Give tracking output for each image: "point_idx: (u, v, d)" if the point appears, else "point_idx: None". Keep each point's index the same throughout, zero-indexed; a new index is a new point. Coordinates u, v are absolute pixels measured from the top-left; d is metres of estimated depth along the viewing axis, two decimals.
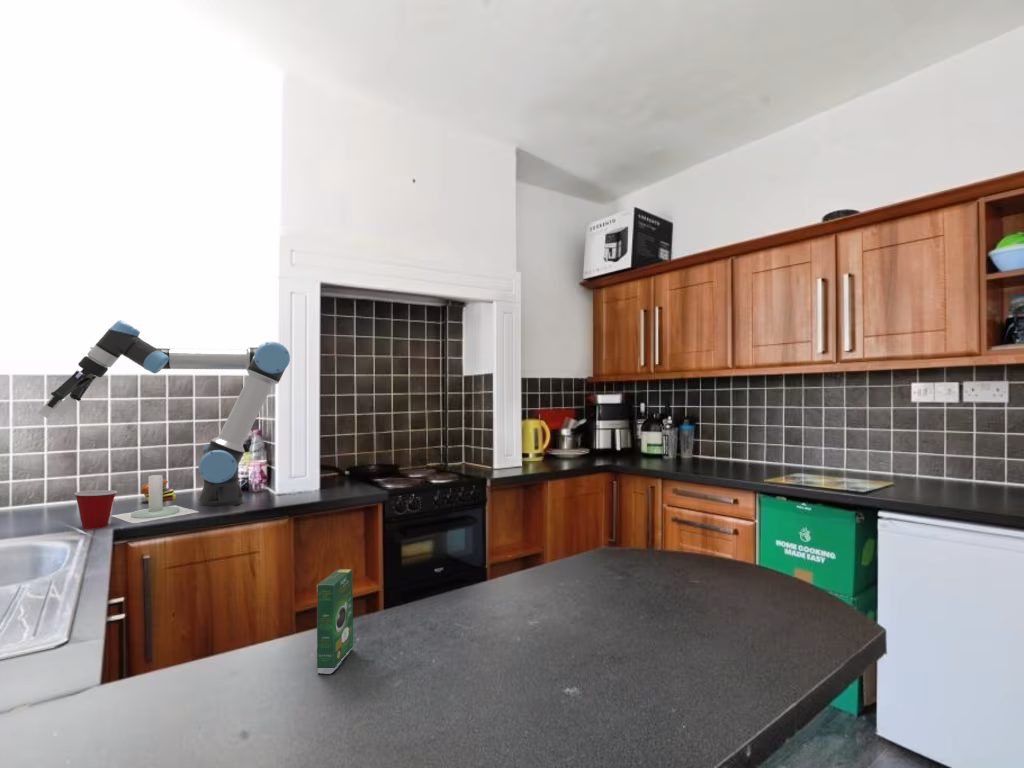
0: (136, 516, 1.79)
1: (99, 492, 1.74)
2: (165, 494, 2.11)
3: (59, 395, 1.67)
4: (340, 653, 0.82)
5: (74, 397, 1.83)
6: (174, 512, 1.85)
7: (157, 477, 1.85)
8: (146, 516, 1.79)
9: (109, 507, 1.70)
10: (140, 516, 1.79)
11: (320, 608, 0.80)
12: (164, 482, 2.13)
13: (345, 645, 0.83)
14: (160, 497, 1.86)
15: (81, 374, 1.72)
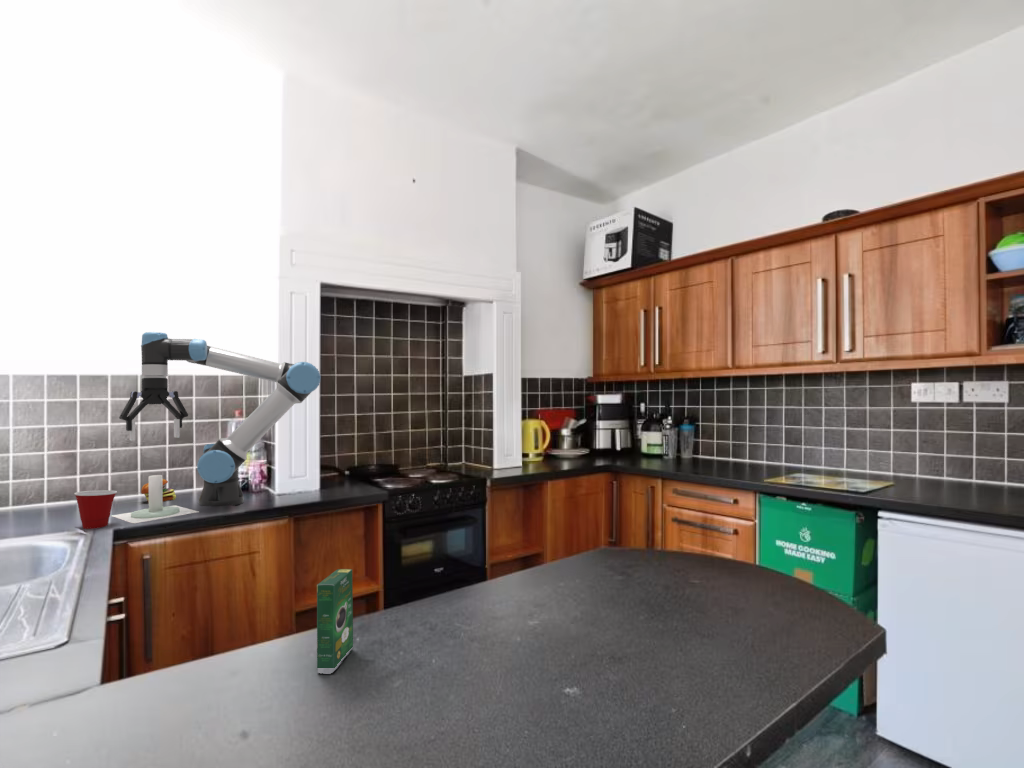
0: (136, 516, 1.79)
1: (99, 492, 1.74)
2: (165, 494, 2.11)
3: (121, 417, 1.78)
4: (340, 653, 0.82)
5: (178, 417, 1.92)
6: (174, 512, 1.85)
7: (157, 477, 1.85)
8: (146, 516, 1.79)
9: (109, 507, 1.70)
10: (140, 516, 1.79)
11: (320, 608, 0.80)
12: (164, 482, 2.13)
13: (345, 645, 0.83)
14: (160, 497, 1.86)
15: (132, 392, 1.81)
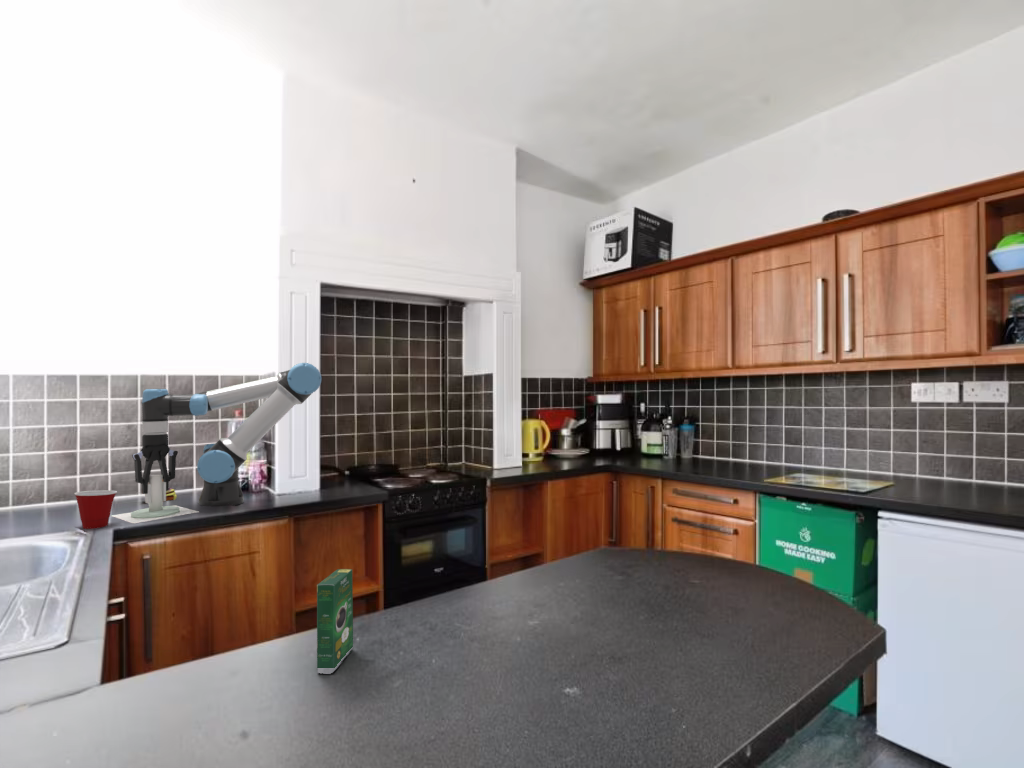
0: (136, 516, 1.79)
1: (99, 492, 1.74)
2: (166, 494, 2.12)
3: (137, 481, 1.81)
4: (340, 653, 0.82)
5: (164, 479, 1.88)
6: (174, 512, 1.85)
7: (157, 477, 1.85)
8: (146, 516, 1.79)
9: (109, 507, 1.70)
10: (140, 516, 1.79)
11: (320, 608, 0.80)
12: None
13: (345, 645, 0.83)
14: (160, 497, 1.86)
15: (134, 456, 1.81)
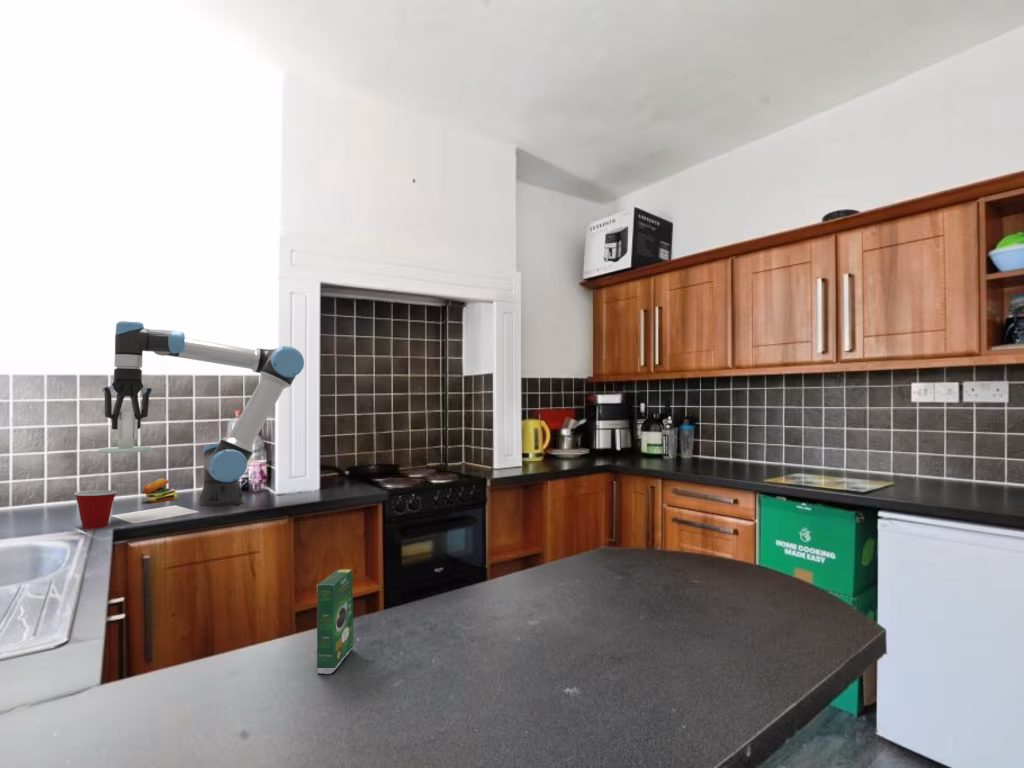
0: (103, 450, 1.72)
1: (99, 492, 1.74)
2: (166, 494, 2.12)
3: (106, 415, 1.74)
4: (340, 653, 0.82)
5: (136, 416, 1.80)
6: (144, 450, 1.77)
7: (128, 412, 1.77)
8: (114, 451, 1.71)
9: (109, 507, 1.70)
10: (107, 450, 1.71)
11: (320, 608, 0.80)
12: (165, 482, 2.13)
13: (345, 645, 0.83)
14: (131, 434, 1.78)
15: (104, 389, 1.73)
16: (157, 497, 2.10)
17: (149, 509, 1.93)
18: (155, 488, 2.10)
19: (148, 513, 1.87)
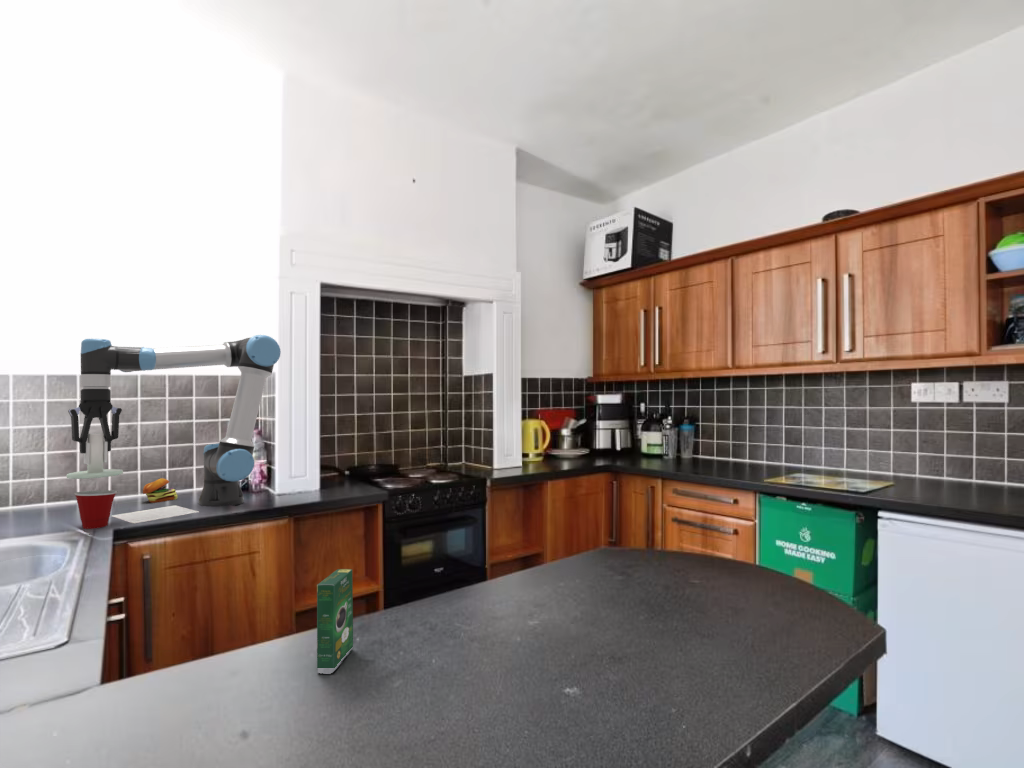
0: (71, 476, 1.63)
1: (99, 492, 1.74)
2: (167, 494, 2.12)
3: (74, 439, 1.65)
4: (340, 653, 0.82)
5: (106, 439, 1.72)
6: (115, 473, 1.69)
7: (97, 435, 1.68)
8: (82, 476, 1.63)
9: (109, 507, 1.70)
10: (76, 476, 1.62)
11: (321, 608, 0.80)
12: (166, 482, 2.13)
13: (345, 645, 0.83)
14: (100, 457, 1.69)
15: (70, 411, 1.64)
16: (157, 497, 2.10)
17: (149, 509, 1.93)
18: (155, 488, 2.10)
19: (148, 513, 1.87)
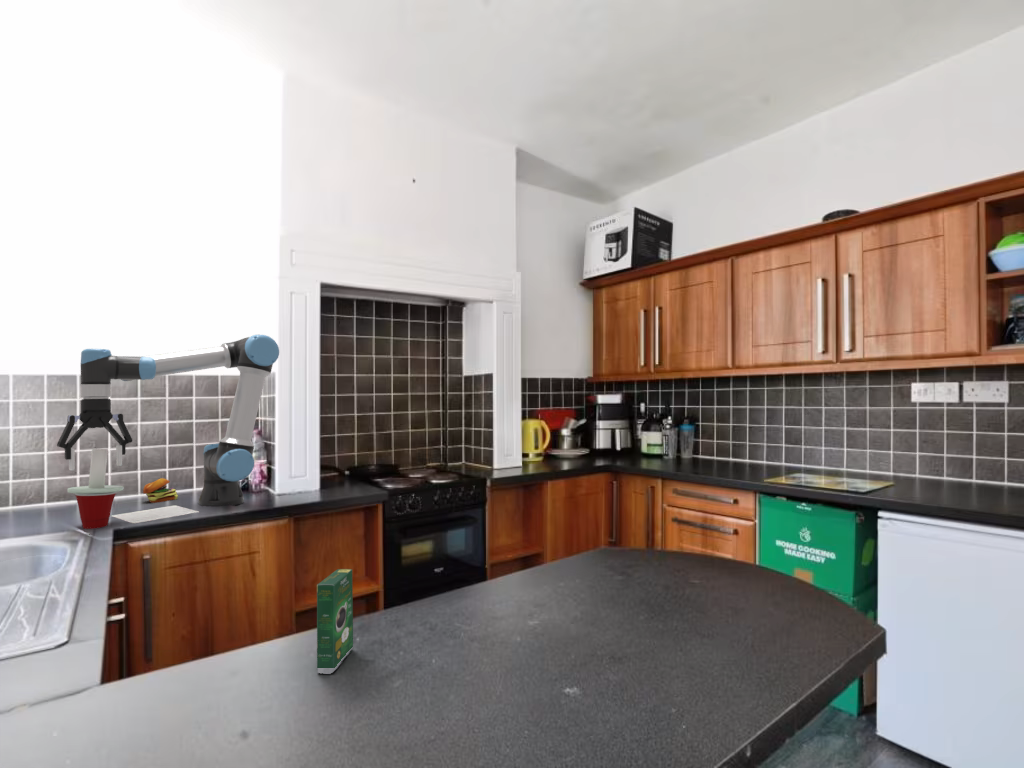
0: (72, 491, 1.63)
1: None
2: (167, 494, 2.12)
3: (58, 445, 1.62)
4: (340, 653, 0.82)
5: (120, 443, 1.75)
6: (116, 490, 1.69)
7: (101, 450, 1.69)
8: (83, 491, 1.63)
9: (109, 507, 1.70)
10: (77, 491, 1.63)
11: (320, 608, 0.80)
12: (166, 482, 2.13)
13: (345, 645, 0.83)
14: (102, 473, 1.70)
15: (69, 416, 1.64)
16: (158, 497, 2.10)
17: (149, 509, 1.93)
18: (156, 488, 2.10)
19: (148, 513, 1.87)
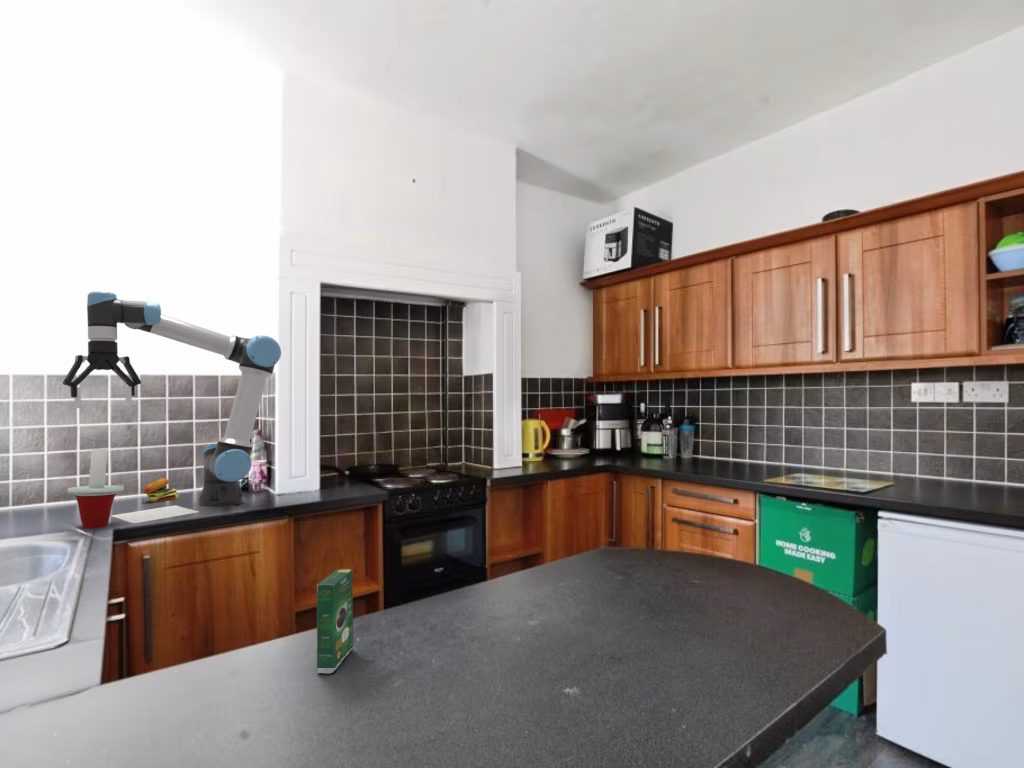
0: (72, 491, 1.63)
1: None
2: (168, 494, 2.12)
3: (64, 382, 1.64)
4: (340, 653, 0.82)
5: (130, 384, 1.79)
6: (116, 490, 1.69)
7: (101, 450, 1.69)
8: (83, 491, 1.63)
9: (109, 507, 1.70)
10: (77, 491, 1.63)
11: (320, 608, 0.80)
12: (167, 482, 2.13)
13: (345, 645, 0.83)
14: (103, 472, 1.70)
15: (77, 356, 1.67)
16: (158, 497, 2.10)
17: (149, 509, 1.93)
18: (156, 488, 2.10)
19: (148, 513, 1.87)
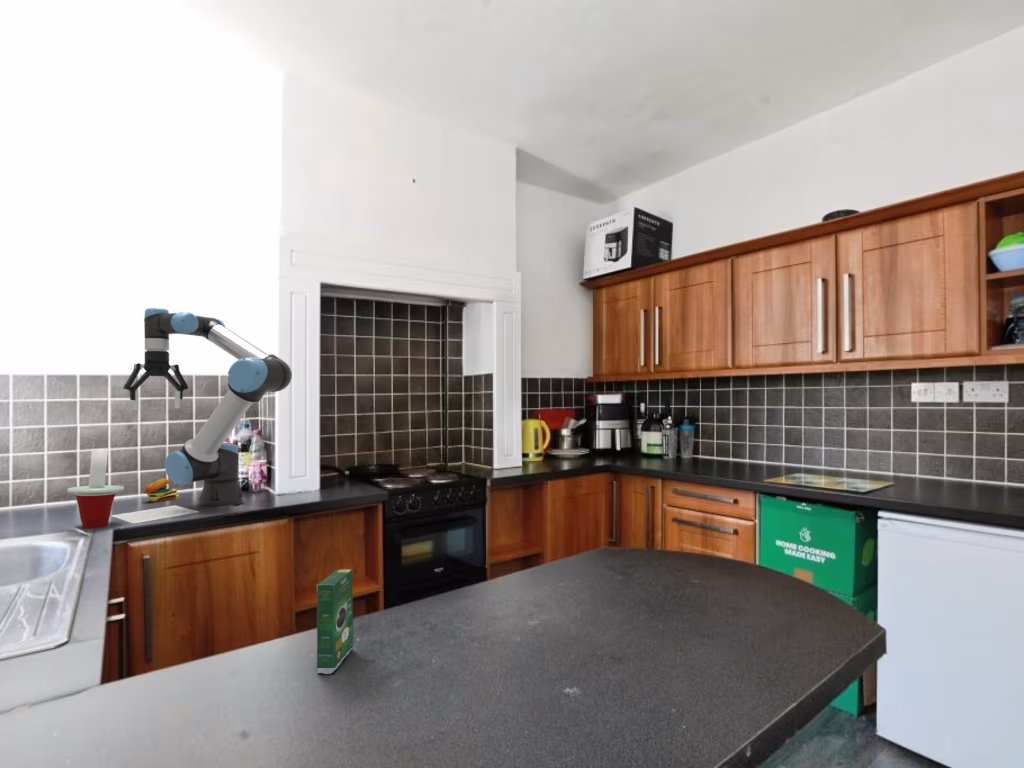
0: (73, 491, 1.63)
1: None
2: (168, 494, 2.12)
3: (125, 387, 1.90)
4: (340, 653, 0.82)
5: (178, 389, 2.04)
6: (116, 490, 1.69)
7: (101, 450, 1.69)
8: (83, 491, 1.63)
9: (109, 507, 1.70)
10: (77, 491, 1.63)
11: (320, 608, 0.80)
12: (167, 482, 2.13)
13: (345, 645, 0.83)
14: (103, 473, 1.70)
15: (136, 364, 1.92)
16: (159, 497, 2.10)
17: (149, 509, 1.93)
18: (157, 488, 2.10)
19: (148, 513, 1.87)
